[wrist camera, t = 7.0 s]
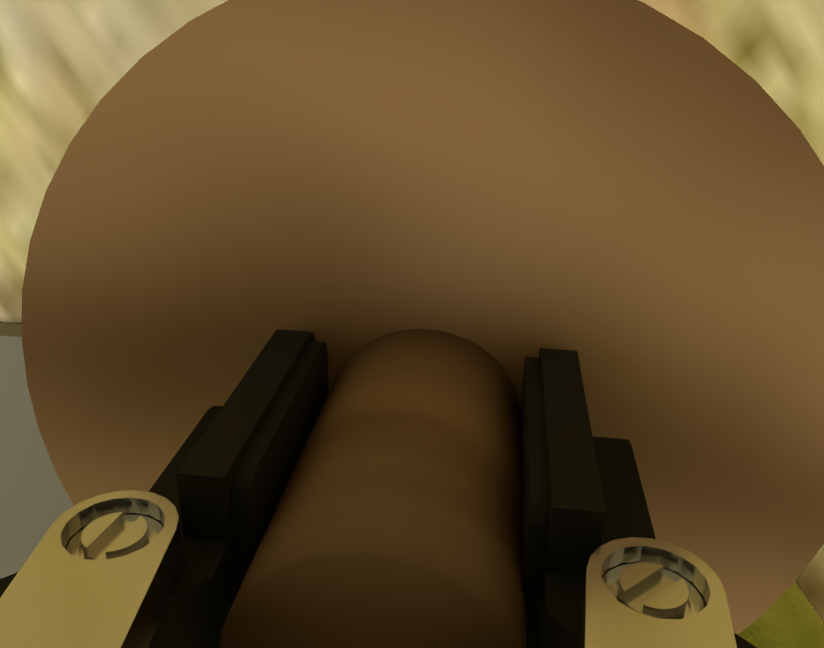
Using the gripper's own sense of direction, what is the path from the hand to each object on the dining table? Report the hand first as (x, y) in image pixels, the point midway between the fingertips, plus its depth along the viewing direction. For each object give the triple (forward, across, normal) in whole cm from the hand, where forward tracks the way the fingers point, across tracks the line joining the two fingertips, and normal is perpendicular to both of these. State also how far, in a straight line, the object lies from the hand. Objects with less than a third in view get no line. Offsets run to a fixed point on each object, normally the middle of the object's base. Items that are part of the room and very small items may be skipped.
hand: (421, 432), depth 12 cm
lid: (+1, 0, 0) cm, 1 cm away
